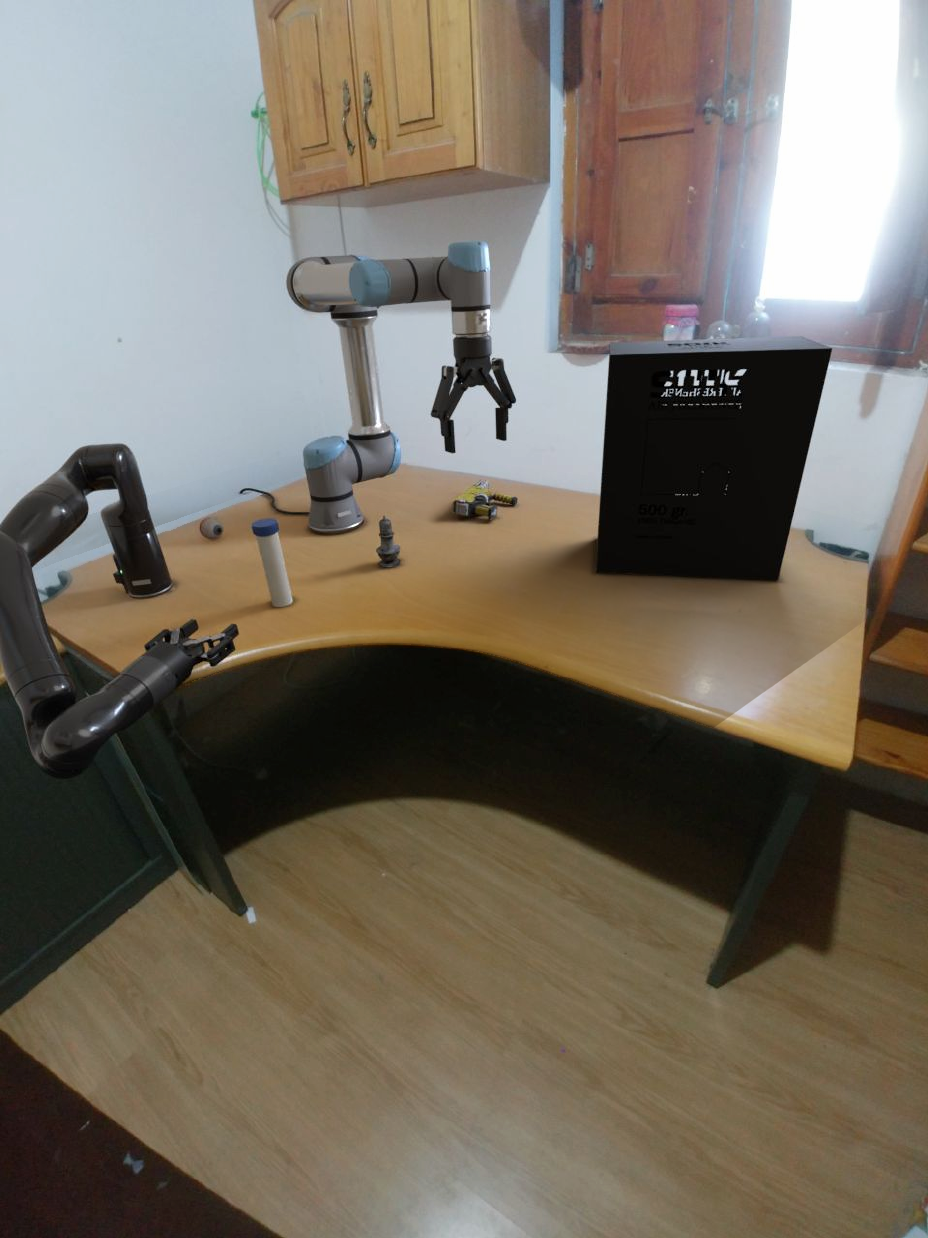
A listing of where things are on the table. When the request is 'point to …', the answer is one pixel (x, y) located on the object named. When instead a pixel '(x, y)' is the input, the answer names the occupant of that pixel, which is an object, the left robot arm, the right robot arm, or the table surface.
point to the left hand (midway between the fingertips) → (215, 625)
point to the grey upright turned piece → (387, 545)
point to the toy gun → (480, 501)
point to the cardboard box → (705, 455)
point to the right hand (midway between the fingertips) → (476, 445)
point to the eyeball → (211, 528)
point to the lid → (265, 527)
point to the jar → (275, 570)
